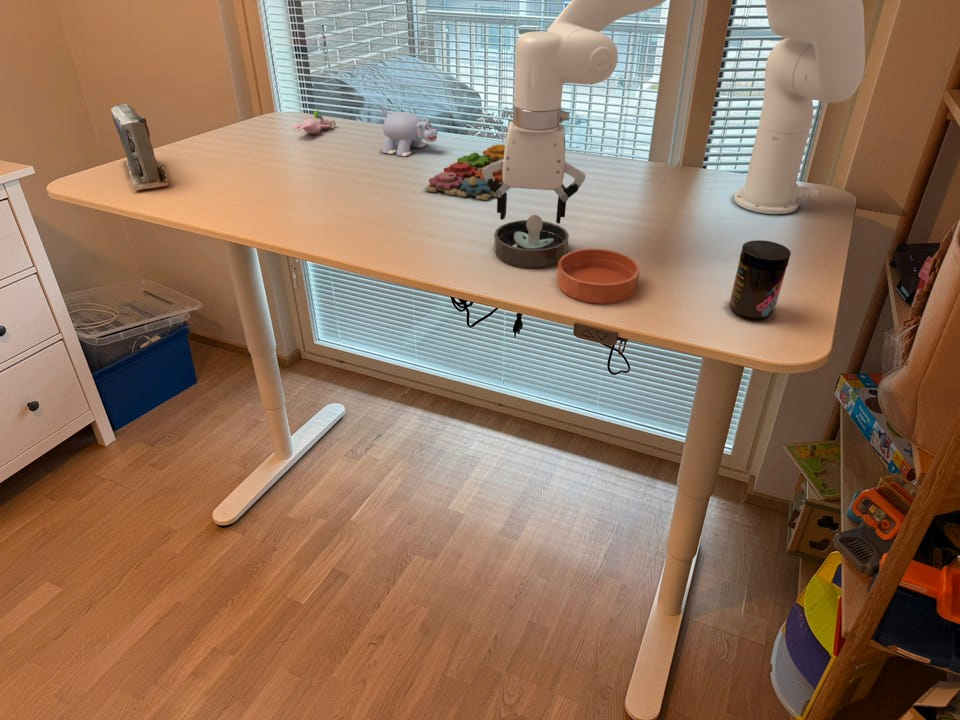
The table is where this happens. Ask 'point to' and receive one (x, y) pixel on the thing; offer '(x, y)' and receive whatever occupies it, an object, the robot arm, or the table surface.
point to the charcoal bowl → (530, 256)
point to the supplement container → (758, 279)
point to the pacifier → (531, 235)
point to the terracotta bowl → (597, 276)
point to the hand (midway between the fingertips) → (530, 218)
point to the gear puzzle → (469, 175)
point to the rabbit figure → (314, 124)
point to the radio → (138, 148)
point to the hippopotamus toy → (405, 132)
